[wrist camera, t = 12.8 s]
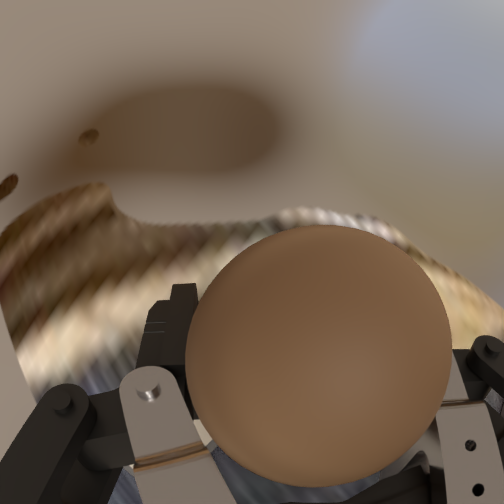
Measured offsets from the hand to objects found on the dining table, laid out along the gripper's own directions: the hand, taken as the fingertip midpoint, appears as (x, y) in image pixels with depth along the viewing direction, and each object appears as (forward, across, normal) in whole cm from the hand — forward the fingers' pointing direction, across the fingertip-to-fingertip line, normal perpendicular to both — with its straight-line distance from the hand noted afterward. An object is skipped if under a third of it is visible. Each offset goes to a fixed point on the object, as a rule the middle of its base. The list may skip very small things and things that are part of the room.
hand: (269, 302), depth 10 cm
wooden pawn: (+2, 0, +5) cm, 5 cm away
